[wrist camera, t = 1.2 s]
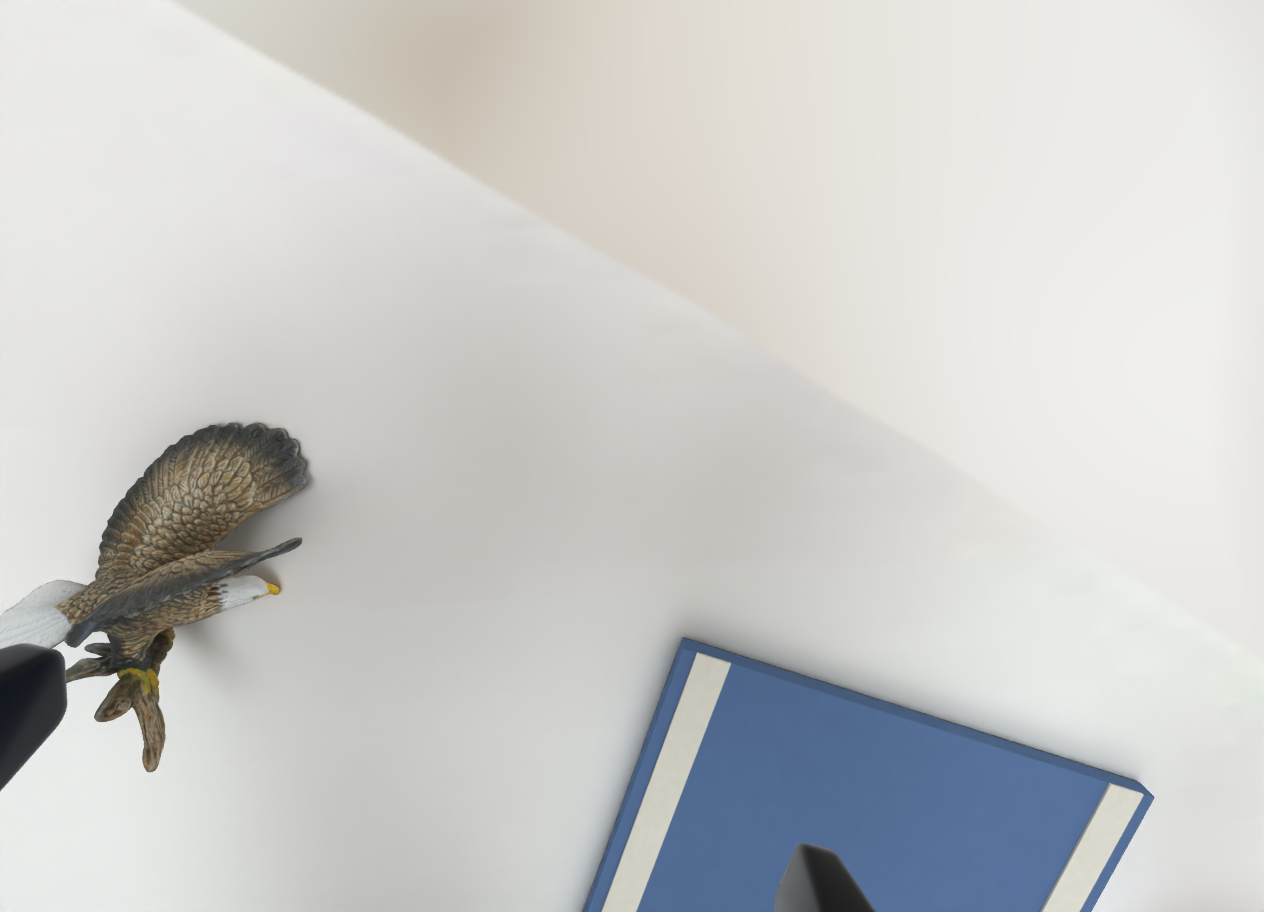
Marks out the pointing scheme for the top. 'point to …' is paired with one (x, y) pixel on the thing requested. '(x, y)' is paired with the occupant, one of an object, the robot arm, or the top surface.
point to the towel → (850, 803)
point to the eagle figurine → (165, 565)
